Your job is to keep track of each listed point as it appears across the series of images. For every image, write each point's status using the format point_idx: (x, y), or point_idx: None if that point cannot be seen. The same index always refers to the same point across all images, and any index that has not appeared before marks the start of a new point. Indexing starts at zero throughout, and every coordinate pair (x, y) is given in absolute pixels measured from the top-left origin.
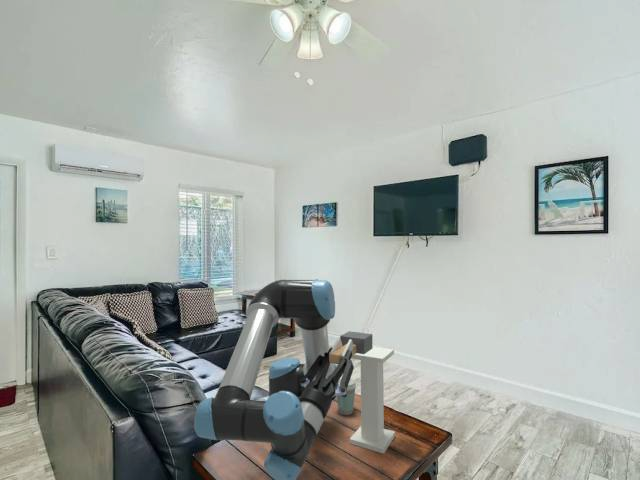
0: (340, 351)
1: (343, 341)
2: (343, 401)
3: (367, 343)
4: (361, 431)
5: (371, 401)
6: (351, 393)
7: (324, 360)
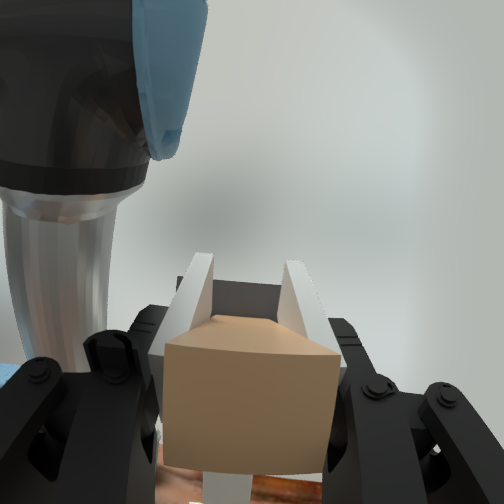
0: (259, 332)
1: None
2: None
3: None
4: None
5: (234, 482)
6: None
7: (92, 436)
